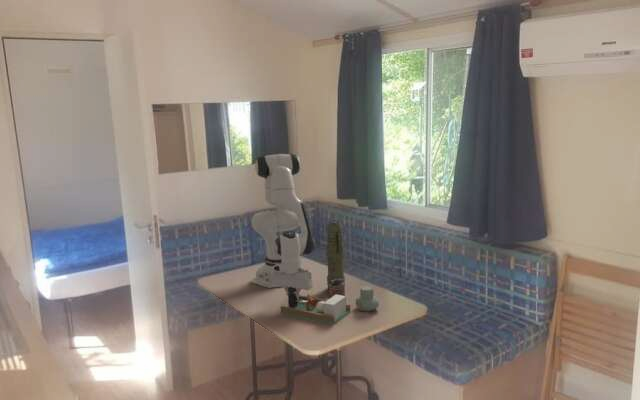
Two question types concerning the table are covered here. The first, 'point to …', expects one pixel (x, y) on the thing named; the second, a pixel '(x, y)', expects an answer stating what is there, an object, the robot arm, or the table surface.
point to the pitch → (331, 315)
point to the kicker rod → (294, 301)
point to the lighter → (336, 288)
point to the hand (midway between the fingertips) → (292, 295)
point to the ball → (320, 306)
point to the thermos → (335, 252)
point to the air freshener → (366, 299)
